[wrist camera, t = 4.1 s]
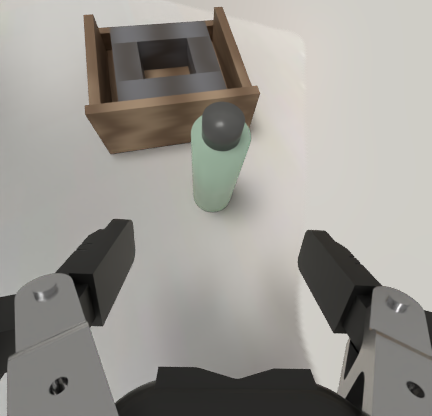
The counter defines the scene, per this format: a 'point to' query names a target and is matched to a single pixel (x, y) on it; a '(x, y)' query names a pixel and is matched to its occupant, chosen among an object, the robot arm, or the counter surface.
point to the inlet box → (161, 80)
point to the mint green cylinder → (218, 154)
